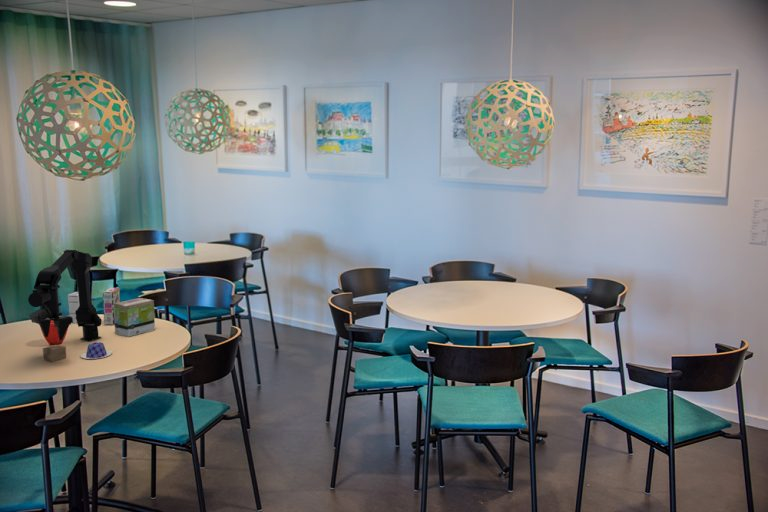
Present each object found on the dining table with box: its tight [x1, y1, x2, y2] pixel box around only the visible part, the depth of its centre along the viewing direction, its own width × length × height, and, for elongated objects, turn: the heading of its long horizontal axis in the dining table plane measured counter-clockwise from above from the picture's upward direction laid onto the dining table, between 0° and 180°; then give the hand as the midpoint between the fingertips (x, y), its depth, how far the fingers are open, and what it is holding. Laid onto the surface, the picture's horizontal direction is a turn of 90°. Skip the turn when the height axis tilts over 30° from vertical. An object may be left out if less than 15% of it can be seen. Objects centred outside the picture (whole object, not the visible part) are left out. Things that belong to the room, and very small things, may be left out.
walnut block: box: [42, 344, 67, 363], centre depth 278 cm, size 6×6×5 cm
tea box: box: [114, 297, 156, 338], centre depth 317 cm, size 15×10×15 cm
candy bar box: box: [102, 287, 121, 326], centre depth 333 cm, size 11×5×16 cm, turn 5°
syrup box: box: [67, 291, 80, 324], centre depth 334 cm, size 6×6×14 cm
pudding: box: [80, 341, 113, 360], centre depth 284 cm, size 12×12×5 cm
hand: (53, 338), depth 277 cm, fingers open, 9 cm apart
